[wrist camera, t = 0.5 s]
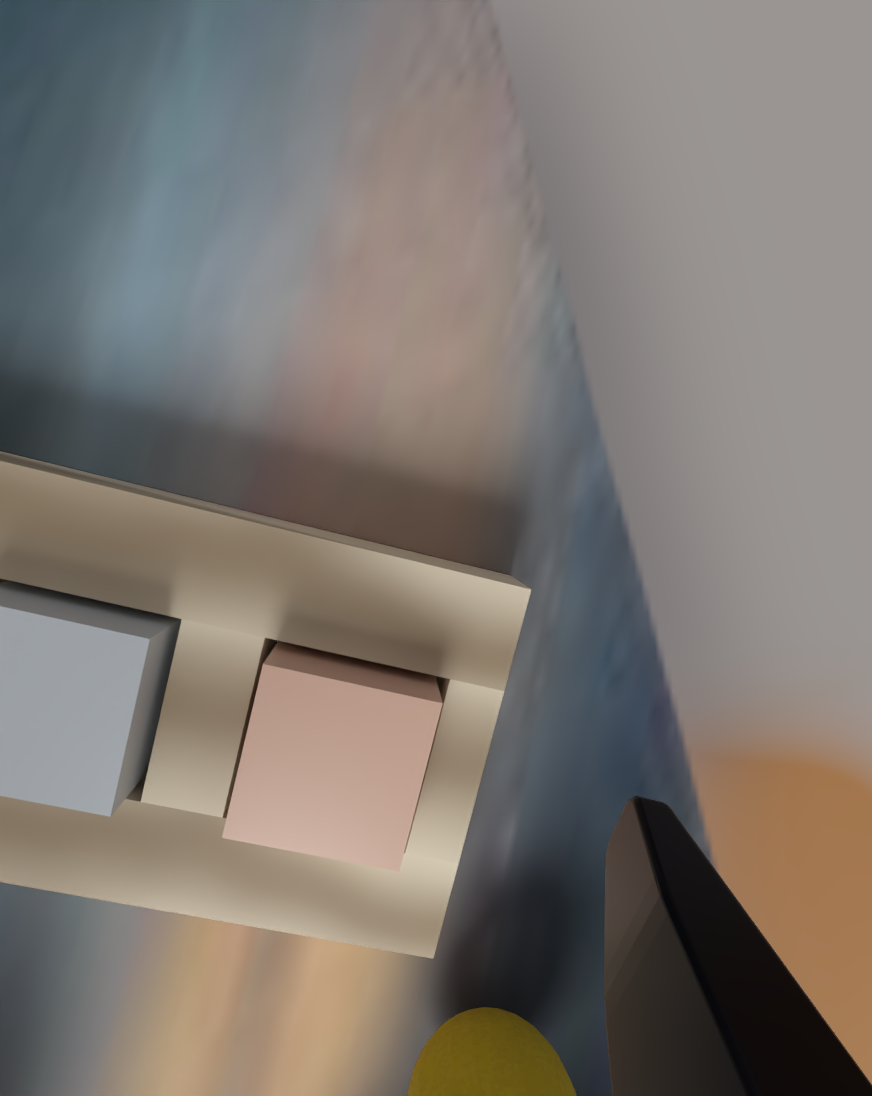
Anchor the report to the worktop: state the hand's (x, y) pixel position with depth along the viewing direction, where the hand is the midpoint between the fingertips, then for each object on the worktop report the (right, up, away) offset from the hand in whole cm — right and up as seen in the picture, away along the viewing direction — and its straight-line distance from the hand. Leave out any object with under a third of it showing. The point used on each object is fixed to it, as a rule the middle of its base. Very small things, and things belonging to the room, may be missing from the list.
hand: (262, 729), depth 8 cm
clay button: (-1, -4, +13) cm, 13 cm away
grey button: (-9, -2, +12) cm, 15 cm away
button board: (-9, -2, +13) cm, 16 cm away
